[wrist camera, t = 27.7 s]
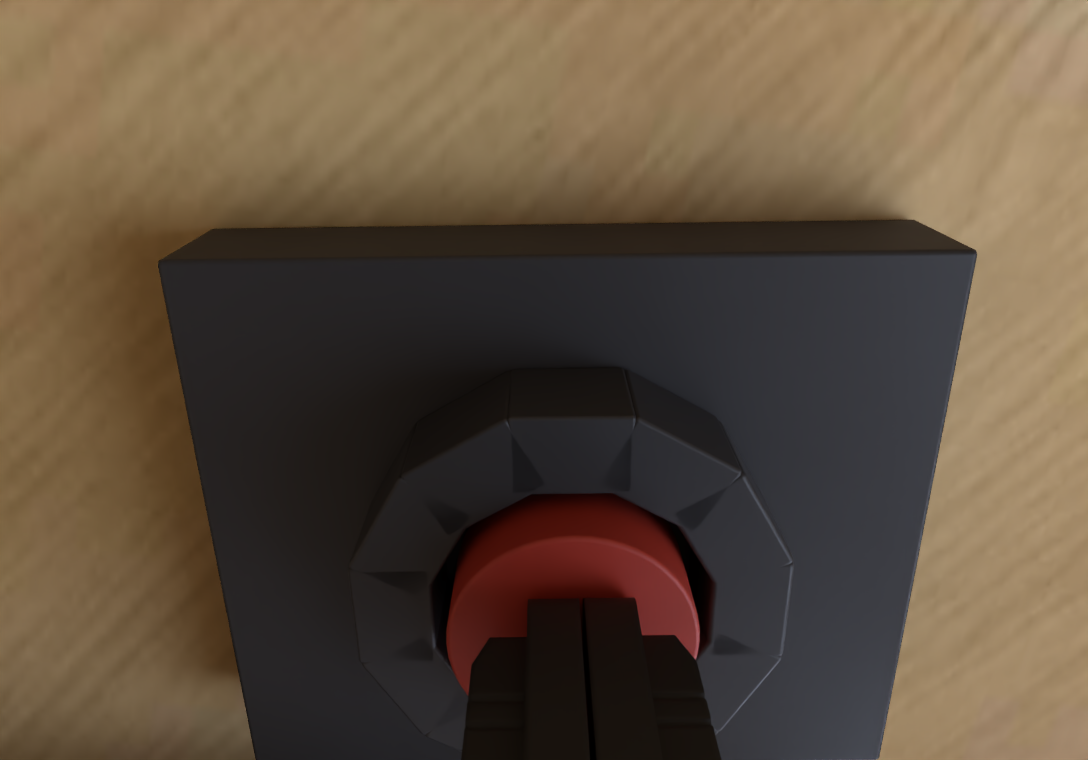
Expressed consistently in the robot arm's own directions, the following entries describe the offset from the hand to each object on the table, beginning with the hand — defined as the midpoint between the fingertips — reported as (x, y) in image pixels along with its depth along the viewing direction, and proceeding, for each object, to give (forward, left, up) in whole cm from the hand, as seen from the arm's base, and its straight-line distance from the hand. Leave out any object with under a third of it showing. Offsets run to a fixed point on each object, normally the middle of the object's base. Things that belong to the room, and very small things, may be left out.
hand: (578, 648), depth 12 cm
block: (0, 0, -5) cm, 5 cm away
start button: (0, 0, -2) cm, 2 cm away
